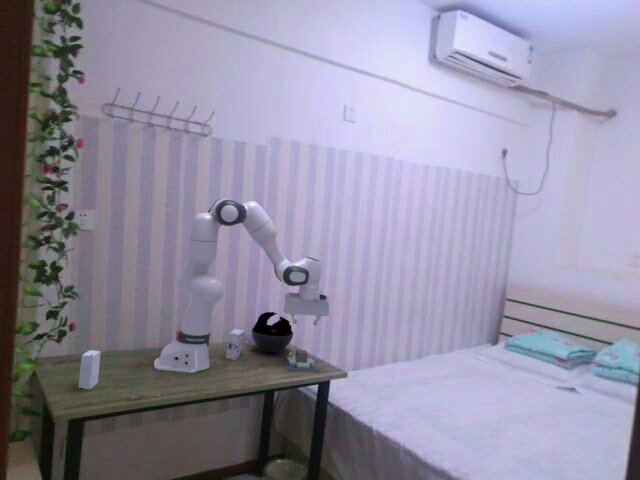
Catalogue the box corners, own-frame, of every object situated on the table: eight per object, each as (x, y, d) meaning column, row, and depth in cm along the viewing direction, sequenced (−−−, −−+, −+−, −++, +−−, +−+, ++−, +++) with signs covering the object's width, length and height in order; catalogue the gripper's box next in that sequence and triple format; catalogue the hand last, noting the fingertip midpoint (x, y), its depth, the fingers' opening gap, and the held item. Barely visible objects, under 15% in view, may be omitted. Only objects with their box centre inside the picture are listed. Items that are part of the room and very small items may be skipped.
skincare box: (86, 382, 175) (88, 349, 174) (98, 383, 175) (101, 350, 174) (77, 388, 169) (80, 354, 168) (90, 390, 169) (93, 356, 168)
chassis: (287, 371, 211) (289, 360, 210) (282, 359, 225) (283, 349, 225) (319, 372, 214) (320, 361, 214) (312, 360, 228) (313, 351, 228)
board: (291, 367, 212) (292, 355, 212) (286, 357, 224) (287, 346, 224) (315, 367, 214) (317, 356, 214) (309, 358, 227) (310, 347, 227)
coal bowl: (248, 344, 243) (252, 306, 242) (288, 346, 247) (292, 309, 246) (250, 357, 224) (254, 316, 223) (293, 359, 228) (298, 319, 226)
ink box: (232, 353, 226) (234, 328, 225) (242, 355, 225) (245, 330, 224) (225, 358, 218) (227, 332, 217) (235, 360, 217) (238, 334, 216)
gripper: (286, 293, 212) (282, 324, 213) (332, 297, 217) (328, 327, 217) (284, 290, 218) (280, 321, 219) (328, 294, 223) (324, 324, 224)
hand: (304, 324), depth 218 cm, fingers open, 8 cm apart
